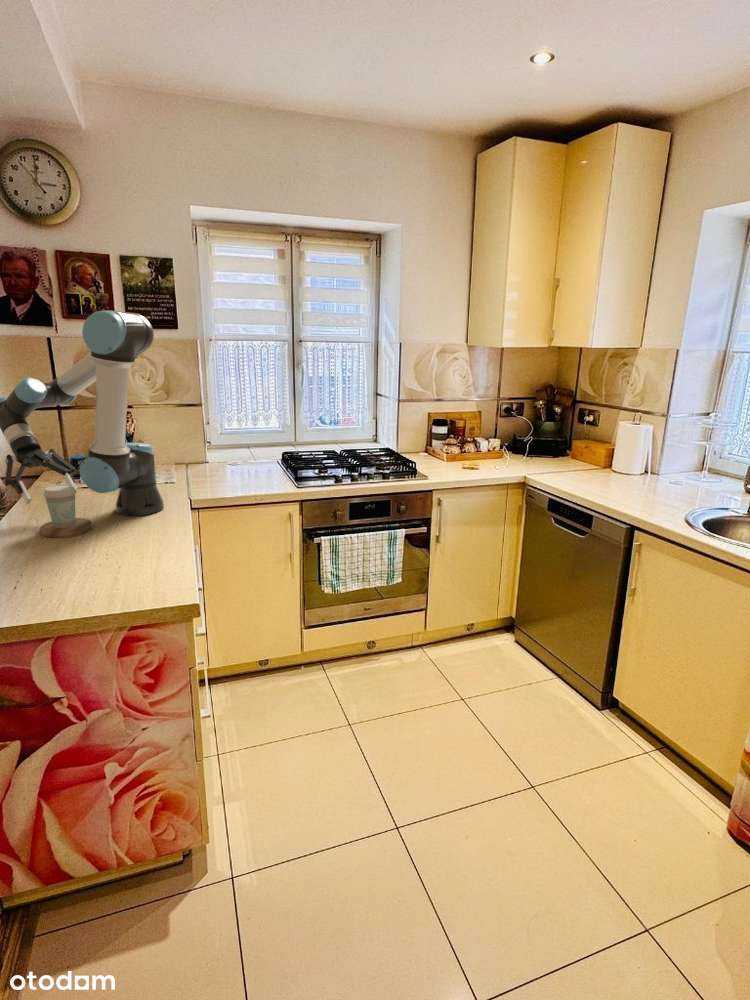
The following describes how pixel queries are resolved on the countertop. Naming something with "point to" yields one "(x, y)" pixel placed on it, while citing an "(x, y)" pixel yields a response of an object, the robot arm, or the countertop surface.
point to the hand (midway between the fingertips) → (52, 496)
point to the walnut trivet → (66, 529)
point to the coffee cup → (61, 505)
